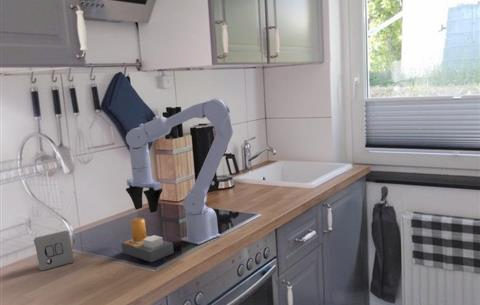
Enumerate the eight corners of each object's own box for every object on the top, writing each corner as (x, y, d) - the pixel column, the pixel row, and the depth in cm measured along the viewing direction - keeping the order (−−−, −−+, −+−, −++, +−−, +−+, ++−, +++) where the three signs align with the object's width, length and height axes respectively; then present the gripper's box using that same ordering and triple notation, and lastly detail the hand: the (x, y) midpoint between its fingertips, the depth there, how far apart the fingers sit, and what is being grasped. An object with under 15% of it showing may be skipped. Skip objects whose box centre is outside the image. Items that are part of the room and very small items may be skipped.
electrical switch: (40, 272, 125) (34, 239, 125) (37, 268, 130) (31, 236, 129) (75, 262, 130) (69, 231, 130) (70, 259, 135) (65, 228, 134)
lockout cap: (140, 236, 138) (138, 217, 137) (149, 238, 135) (147, 218, 134) (130, 240, 134) (127, 221, 134) (139, 242, 132) (137, 222, 131)
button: (155, 244, 134) (154, 235, 133) (163, 247, 131) (162, 237, 130) (144, 249, 131) (142, 239, 130) (152, 251, 128) (151, 241, 127)
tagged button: (142, 245, 138) (141, 236, 138) (150, 248, 135) (149, 238, 135) (131, 250, 135) (130, 240, 135) (139, 252, 132) (138, 242, 132)
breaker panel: (144, 244, 141) (143, 234, 140) (173, 252, 131) (172, 242, 131) (122, 252, 135) (121, 242, 134) (151, 262, 126) (150, 251, 125)
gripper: (116, 168, 141) (121, 210, 143) (144, 171, 131) (150, 216, 133) (135, 163, 146) (140, 204, 148) (164, 166, 136) (168, 210, 138)
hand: (146, 210), depth 141 cm, fingers open, 7 cm apart
